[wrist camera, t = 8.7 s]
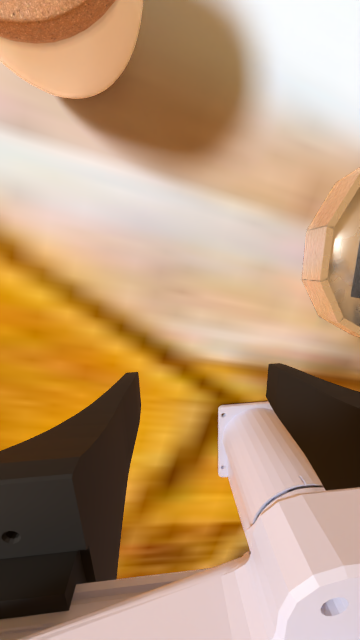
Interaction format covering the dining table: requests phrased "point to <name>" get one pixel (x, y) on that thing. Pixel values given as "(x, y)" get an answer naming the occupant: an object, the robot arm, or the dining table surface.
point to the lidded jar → (69, 42)
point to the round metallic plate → (336, 256)
